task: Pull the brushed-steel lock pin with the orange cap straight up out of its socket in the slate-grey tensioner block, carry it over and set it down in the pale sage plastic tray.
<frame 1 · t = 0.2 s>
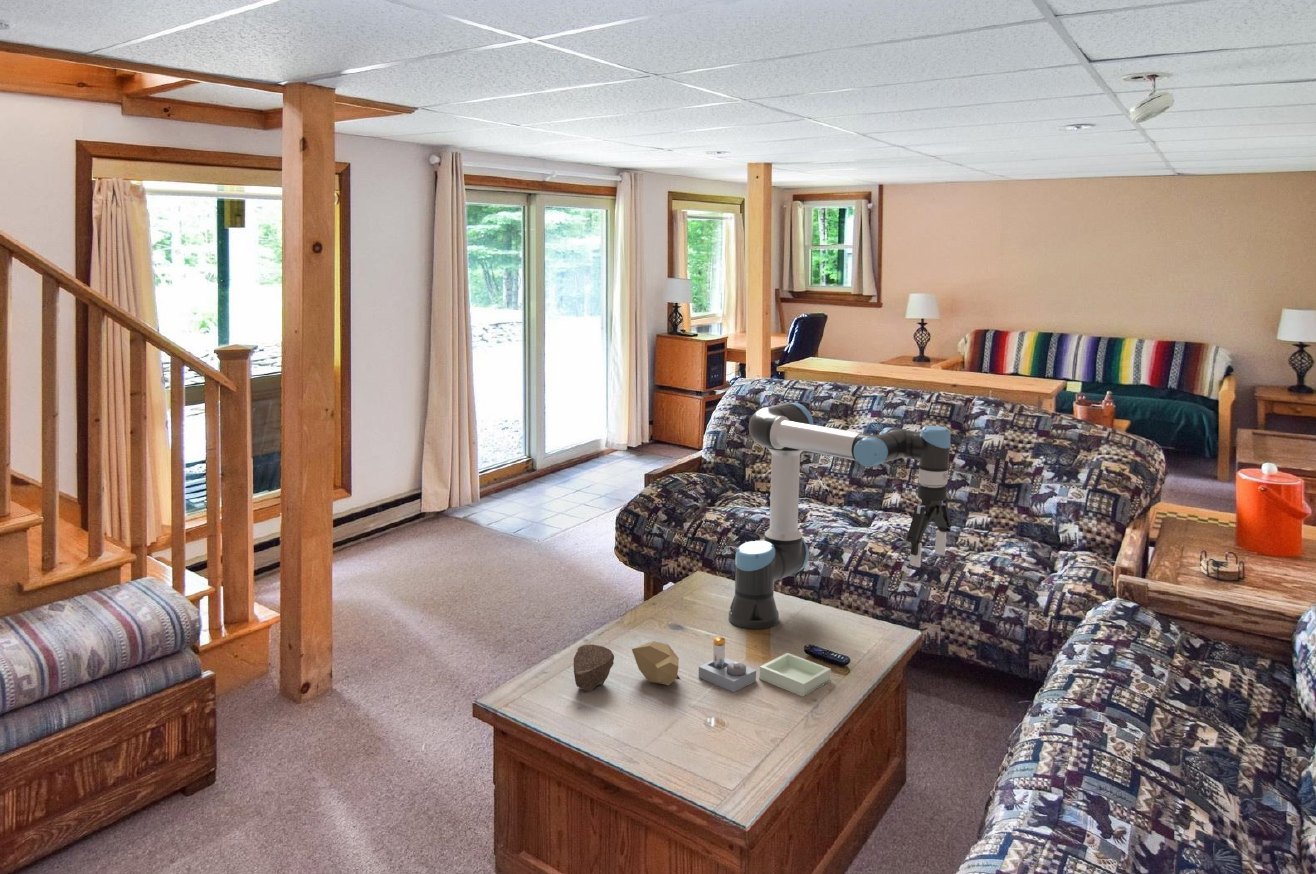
hand: (927, 560, 255), 28 cm above the table, fingers open, 13 cm apart
tray: (794, 680, 245), on the table
tensioner block: (727, 679, 246), on the table
low-poly potato: (659, 683, 244), on the table
rock: (591, 687, 241), on the table
lock pin: (718, 675, 248), resting in tensioner block
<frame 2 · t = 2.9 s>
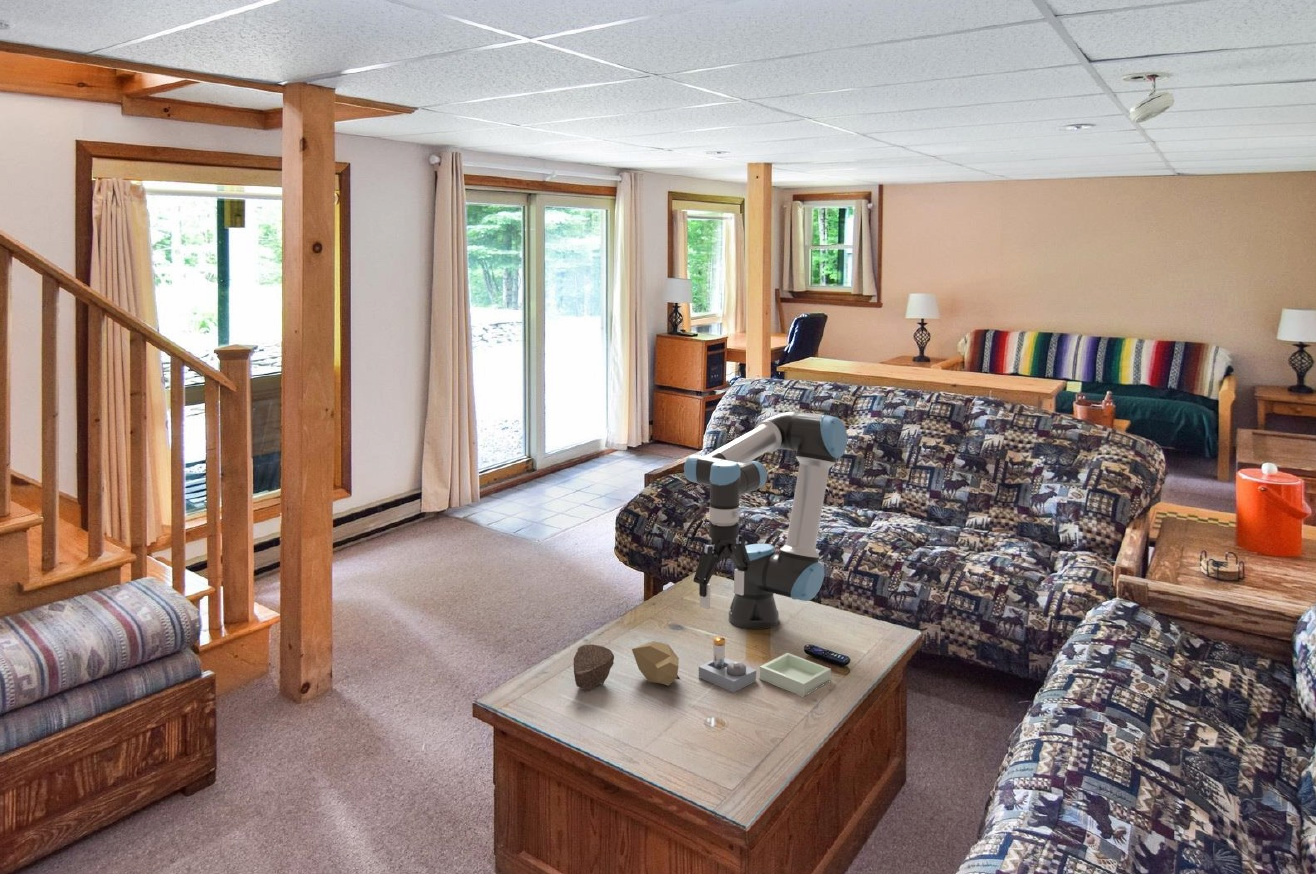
hand: (722, 600, 244), 21 cm above the table, fingers open, 13 cm apart
nothing on the table moved.
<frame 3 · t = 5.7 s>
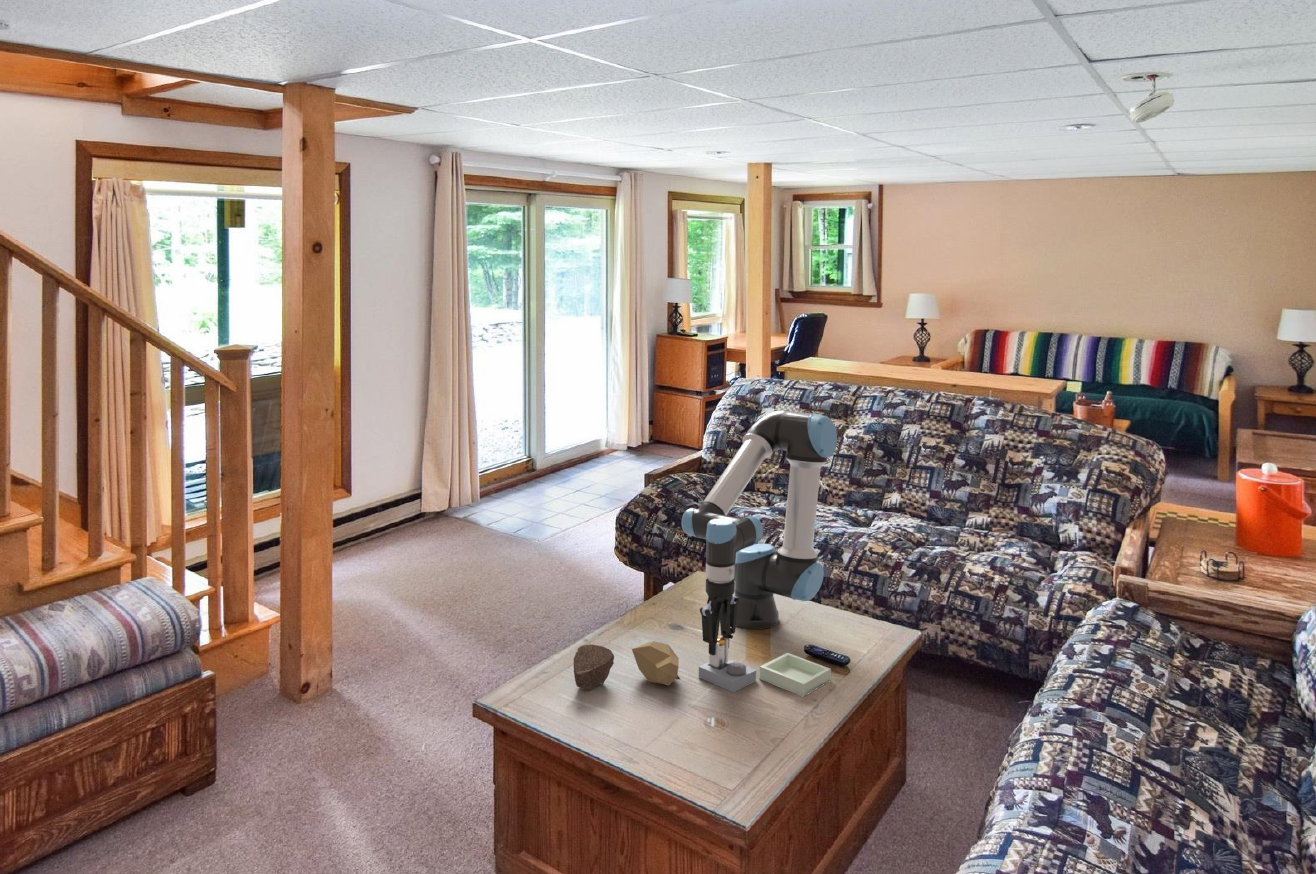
hand: (718, 662, 247), 4 cm above the table, fingers closed on lock pin, 3 cm apart
lock pin: (718, 675, 248), resting in tensioner block, touching gripper
everything else where it was.
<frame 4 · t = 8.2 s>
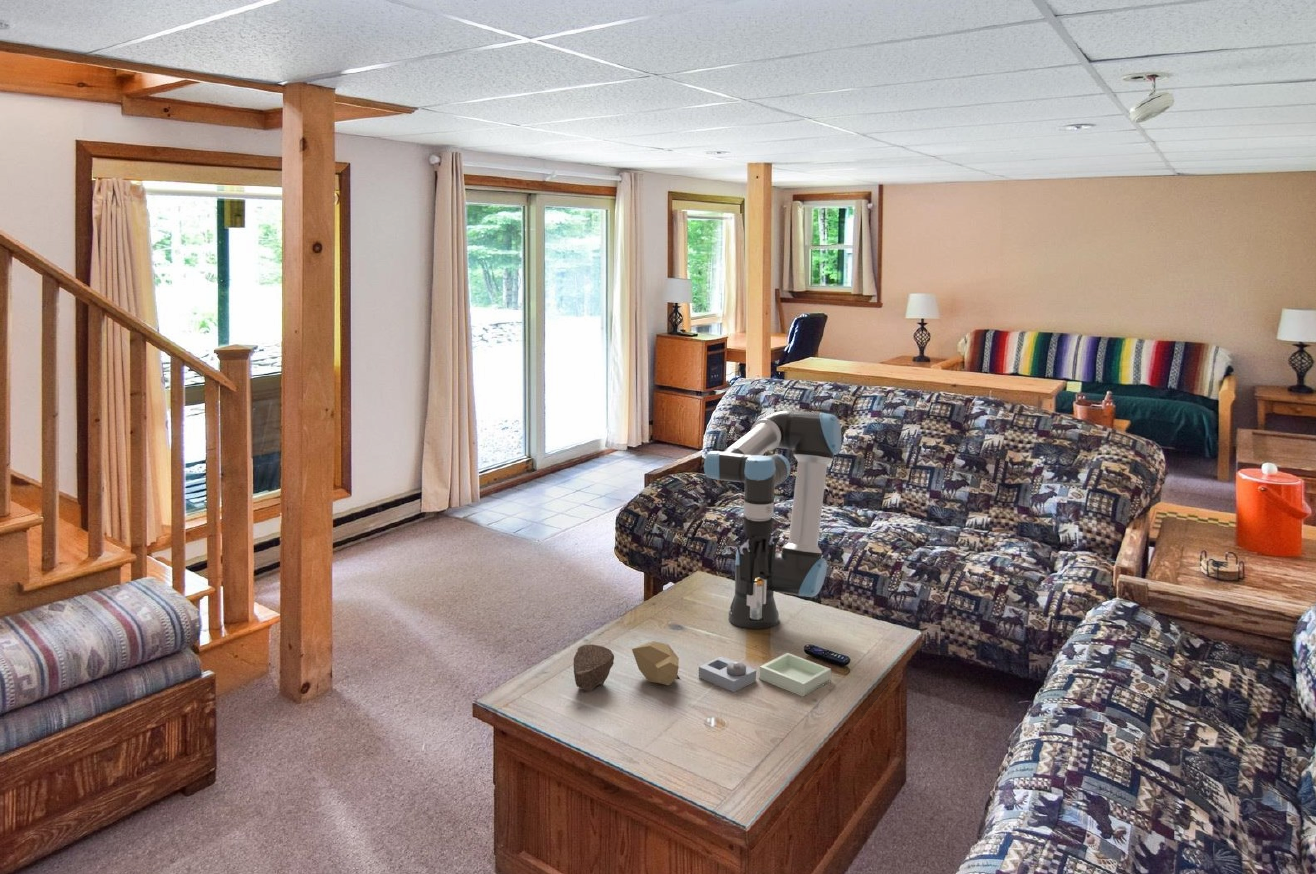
hand: (756, 604, 242), 21 cm above the table, fingers closed on lock pin, 3 cm apart
lock pin: (755, 617, 243), point 17 cm above the table, touching gripper
everything else where it was.
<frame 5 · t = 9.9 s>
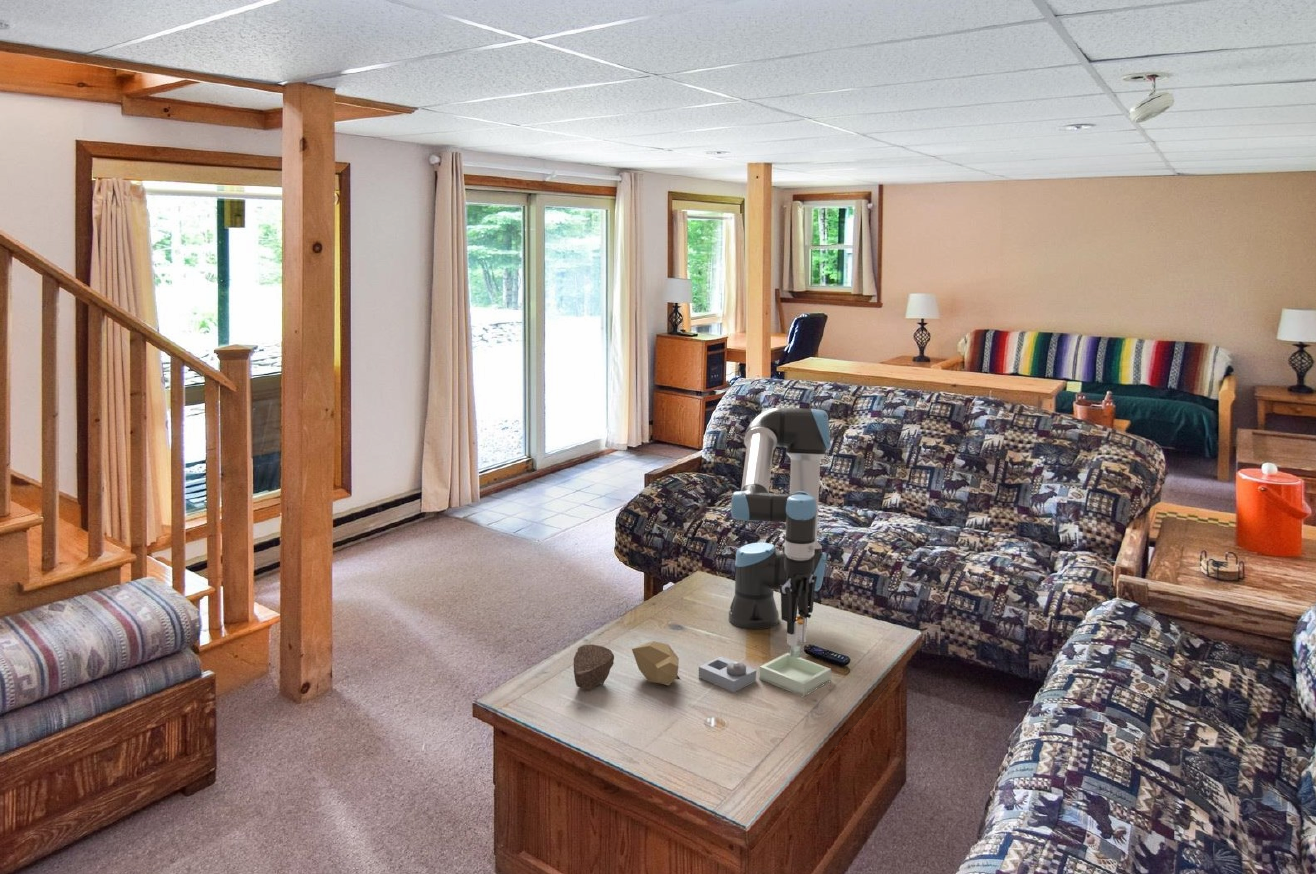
hand: (796, 642, 243), 11 cm above the table, fingers closed on lock pin, 3 cm apart
lock pin: (795, 655, 244), point 7 cm above the table, touching gripper
everything else where it was.
when the fingers open (6 cm above the table, at t = 11.0 s): lock pin drops 2 cm, resting on tray.
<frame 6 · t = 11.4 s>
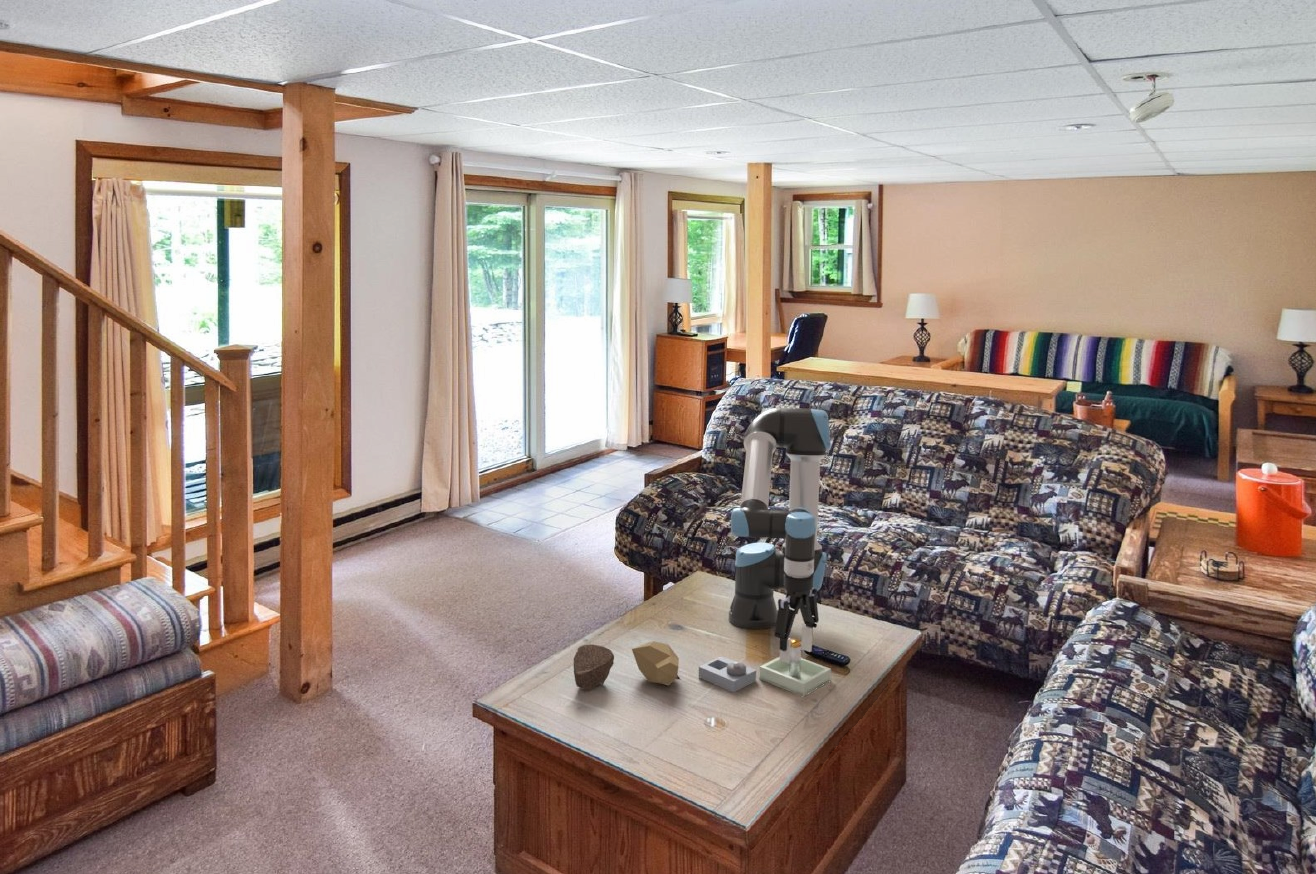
hand: (795, 655, 244), 7 cm above the table, fingers open, 9 cm apart
lock pin: (795, 677, 245), point 1 cm above the table, touching tray
everything else where it was.
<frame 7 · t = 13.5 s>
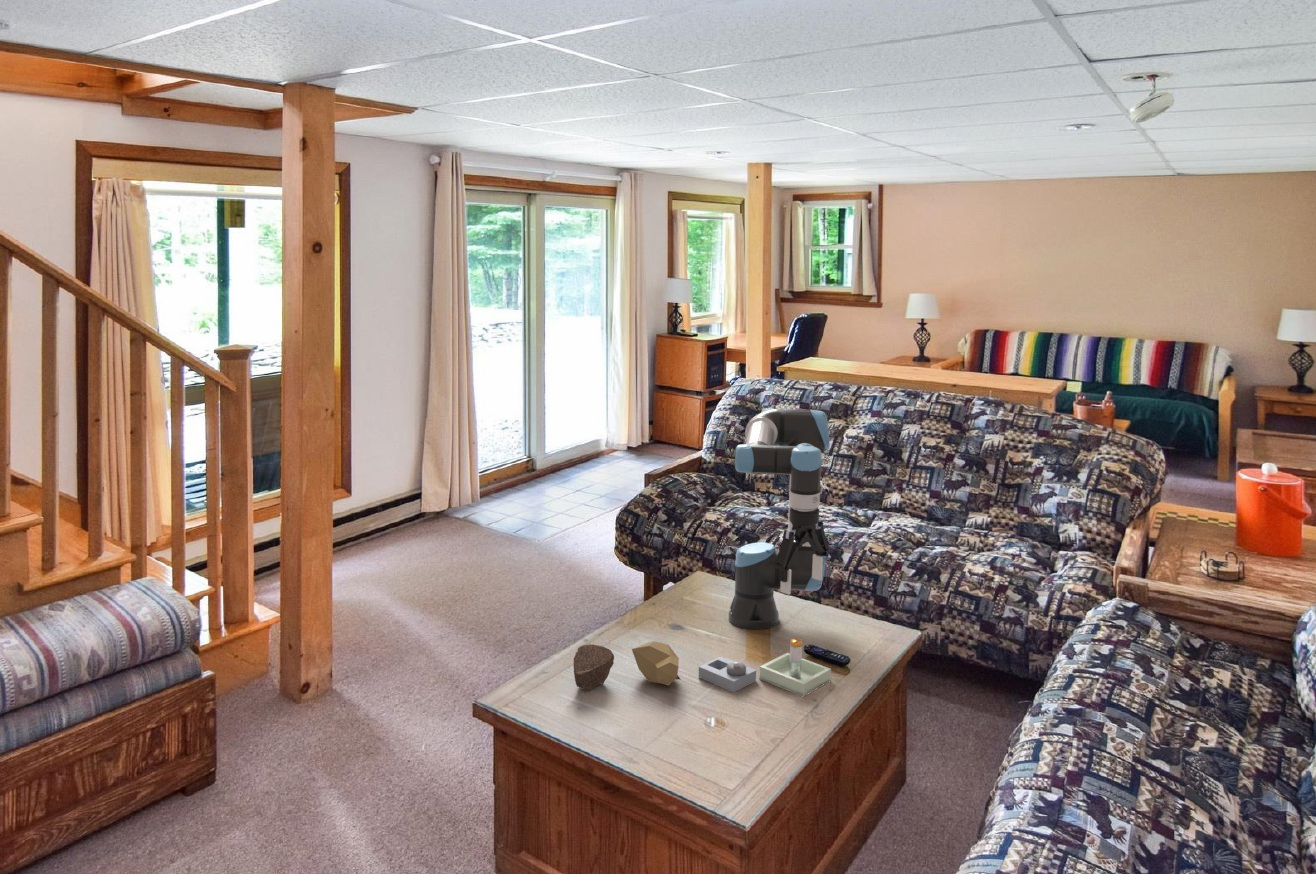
hand: (801, 586, 243), 25 cm above the table, fingers open, 13 cm apart
nothing on the table moved.
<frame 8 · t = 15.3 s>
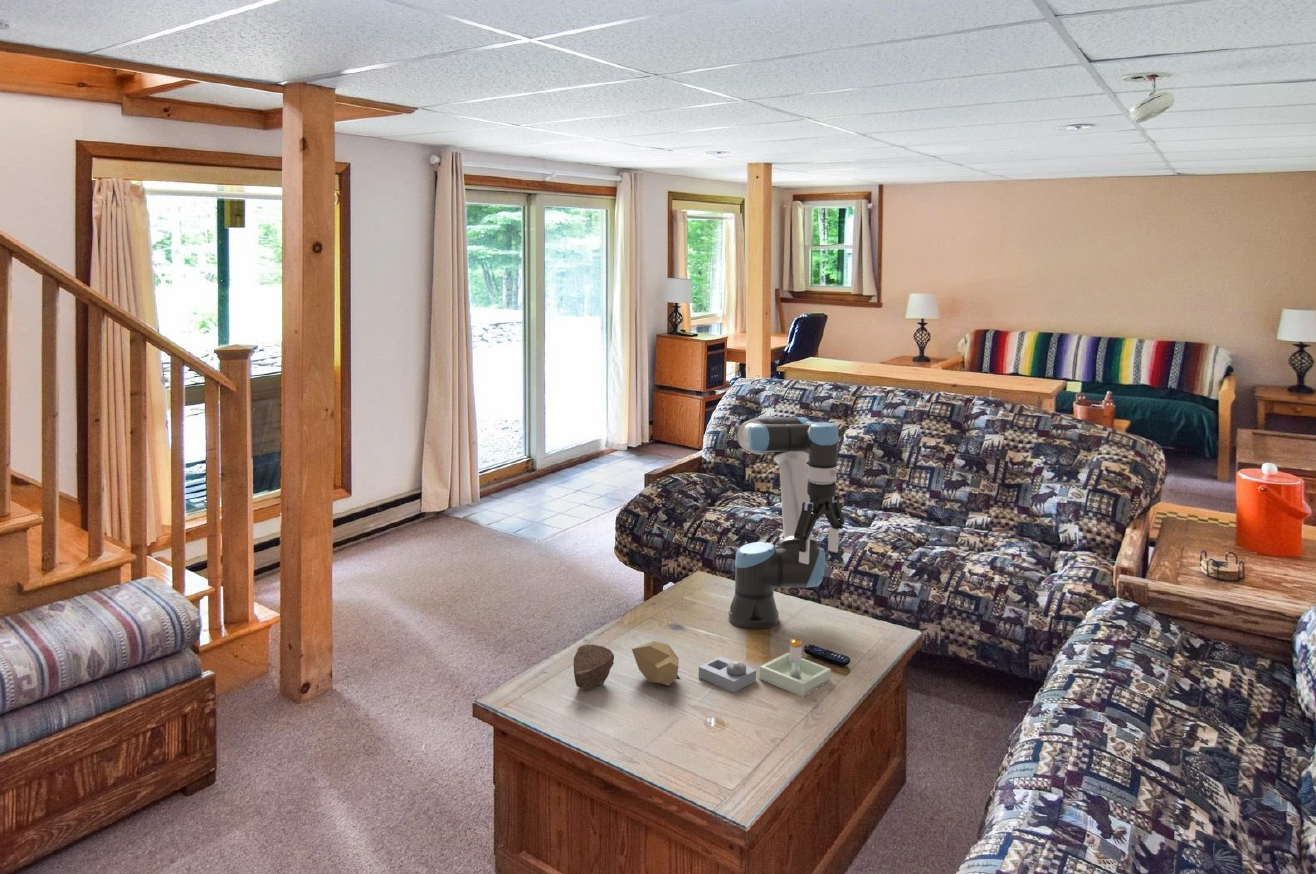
hand: (818, 557, 254), 29 cm above the table, fingers open, 13 cm apart
nothing on the table moved.
at the end: lock pin inside the target area on the tray (0.0 cm from its centre), point 0.8 cm above the tray's base; the gripper is holding nothing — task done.
